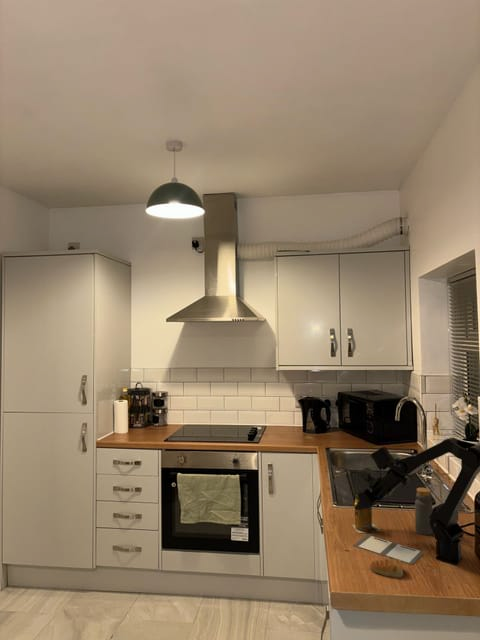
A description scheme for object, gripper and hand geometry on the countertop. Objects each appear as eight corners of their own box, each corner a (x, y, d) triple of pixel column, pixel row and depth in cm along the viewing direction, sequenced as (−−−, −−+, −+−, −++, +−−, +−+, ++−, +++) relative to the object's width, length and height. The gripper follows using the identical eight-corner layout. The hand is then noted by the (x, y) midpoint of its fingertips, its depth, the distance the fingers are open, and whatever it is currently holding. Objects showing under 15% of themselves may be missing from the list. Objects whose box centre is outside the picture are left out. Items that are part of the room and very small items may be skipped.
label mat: (424, 552, 150) (424, 551, 150) (412, 565, 141) (412, 564, 141) (367, 534, 163) (367, 534, 163) (352, 545, 154) (352, 545, 154)
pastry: (371, 576, 135) (371, 563, 136) (369, 565, 142) (368, 552, 142) (404, 579, 134) (404, 565, 134) (400, 567, 140) (400, 555, 141)
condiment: (351, 525, 171) (350, 492, 172) (373, 523, 172) (372, 491, 172) (358, 533, 164) (357, 499, 164) (381, 532, 165) (380, 498, 165)
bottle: (435, 531, 165) (434, 489, 166) (429, 536, 161) (428, 493, 161) (419, 526, 169) (418, 485, 170) (412, 531, 165) (412, 489, 165)
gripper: (384, 457, 173) (357, 480, 180) (362, 468, 159) (334, 493, 166) (405, 482, 168) (377, 505, 174) (384, 496, 153) (354, 521, 160)
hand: (360, 505), depth 169 cm, fingers open, 8 cm apart
